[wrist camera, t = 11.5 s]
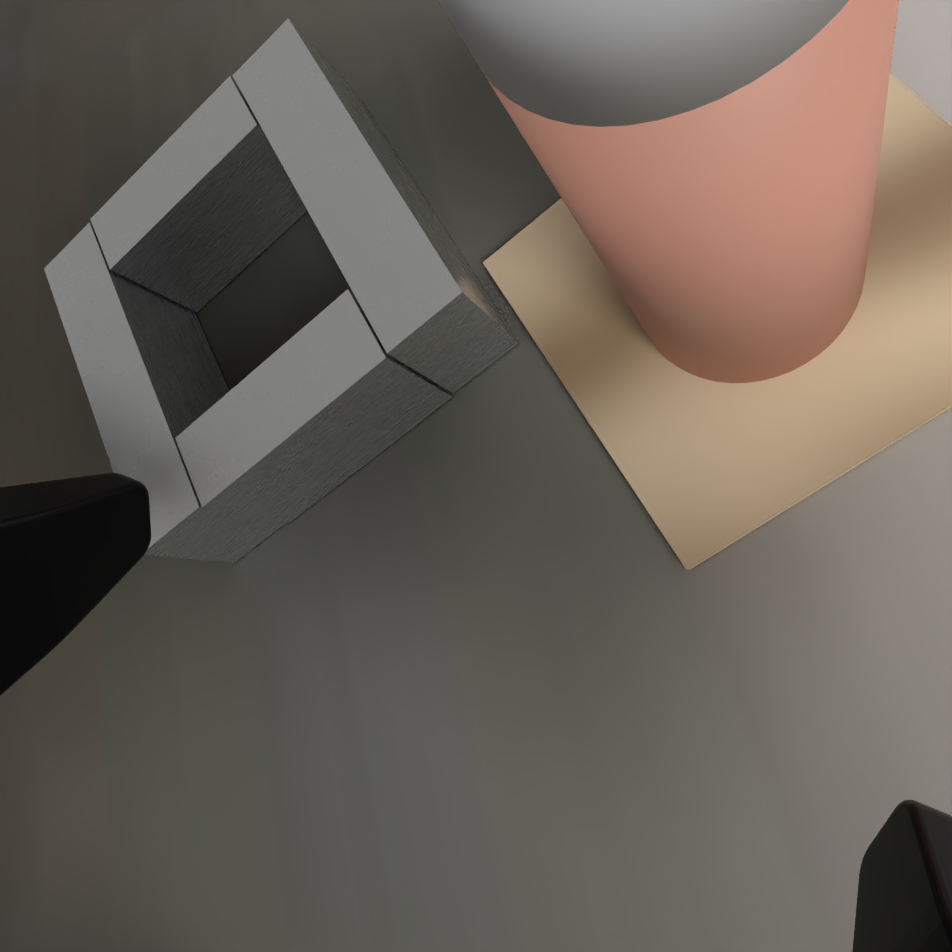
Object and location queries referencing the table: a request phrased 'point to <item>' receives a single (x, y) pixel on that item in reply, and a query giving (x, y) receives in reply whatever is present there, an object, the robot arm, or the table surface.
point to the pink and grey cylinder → (706, 157)
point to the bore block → (304, 355)
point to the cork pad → (763, 402)
